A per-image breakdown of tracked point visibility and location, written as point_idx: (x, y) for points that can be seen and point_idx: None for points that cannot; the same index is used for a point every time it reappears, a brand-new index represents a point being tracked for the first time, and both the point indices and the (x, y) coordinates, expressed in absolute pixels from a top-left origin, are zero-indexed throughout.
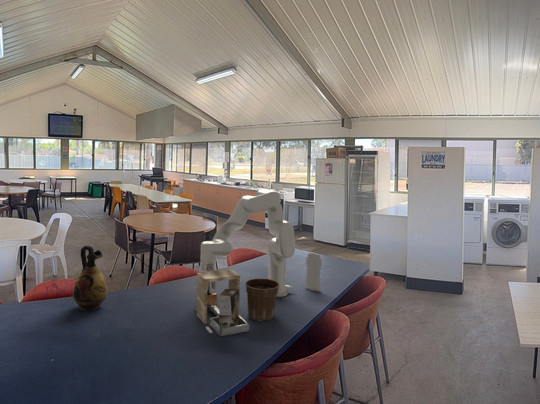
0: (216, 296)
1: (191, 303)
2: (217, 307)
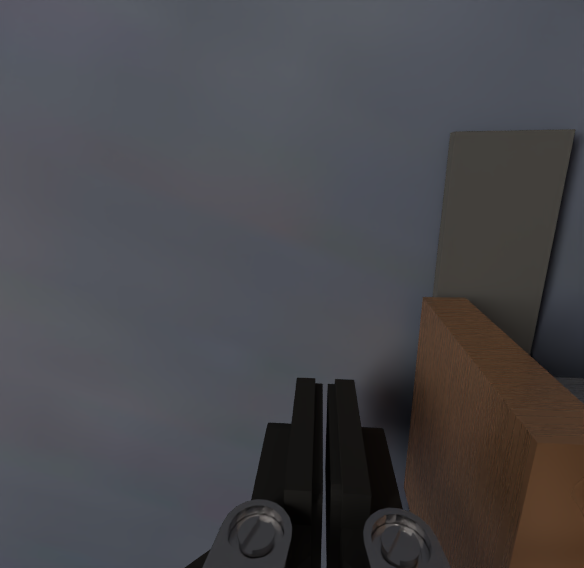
0: (570, 406)
1: (175, 516)
2: (509, 298)
